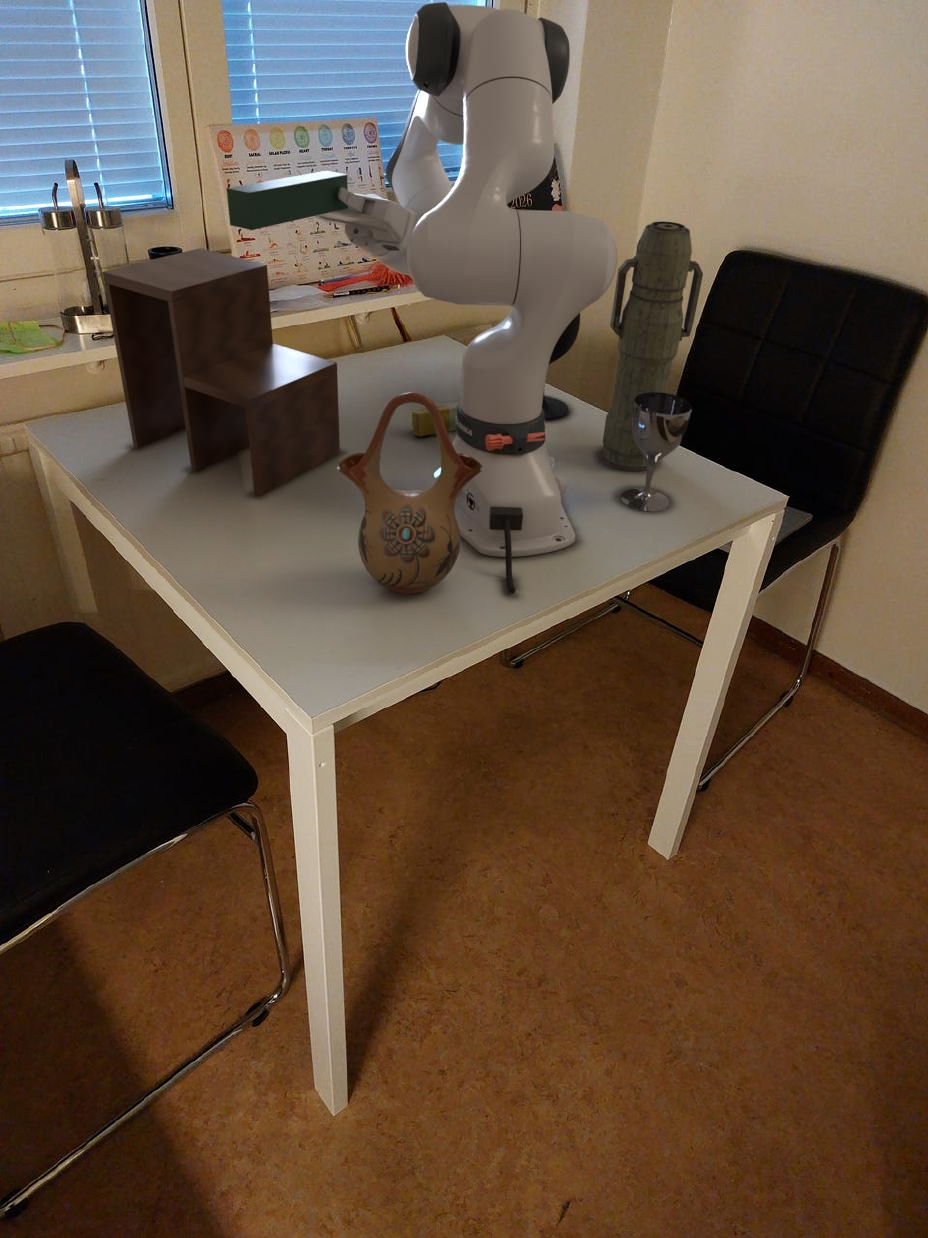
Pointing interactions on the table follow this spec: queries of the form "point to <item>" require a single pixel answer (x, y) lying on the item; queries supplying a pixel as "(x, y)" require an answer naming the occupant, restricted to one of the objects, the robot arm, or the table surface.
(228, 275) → the step shelf
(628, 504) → the wine glass
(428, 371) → the table surface
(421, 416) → the medication box
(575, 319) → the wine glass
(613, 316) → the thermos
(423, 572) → the ceramic vessel
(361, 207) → the robot arm
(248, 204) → the carton
